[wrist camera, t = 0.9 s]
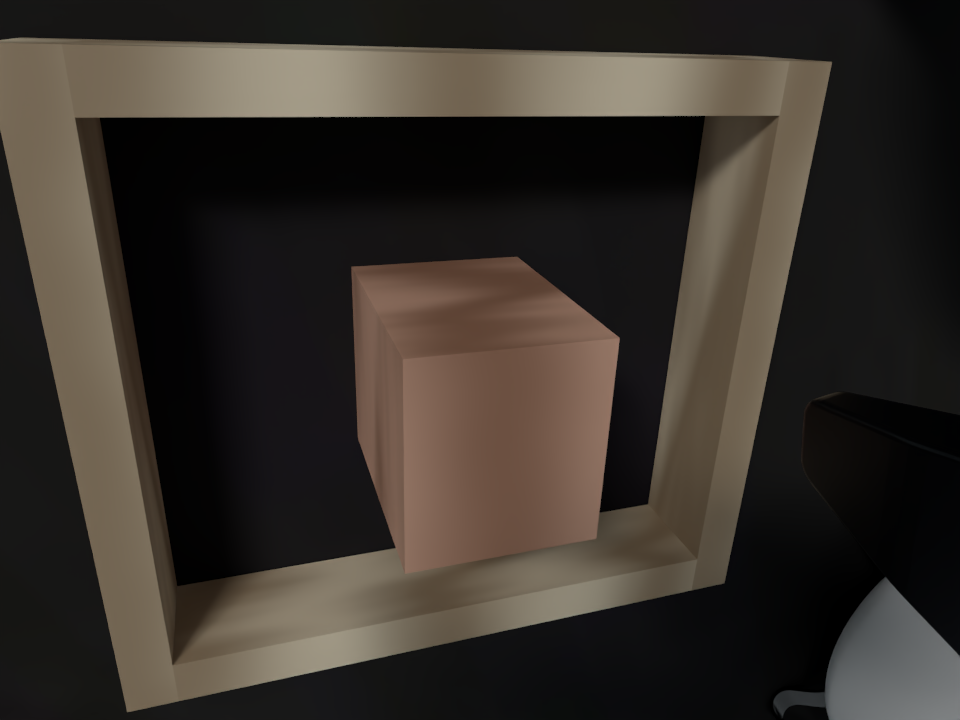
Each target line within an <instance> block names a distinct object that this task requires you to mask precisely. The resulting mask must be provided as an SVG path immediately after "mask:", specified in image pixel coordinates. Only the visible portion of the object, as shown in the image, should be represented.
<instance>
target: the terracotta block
mask: <svg viewBox="0 0 960 720" xmlns="http://www.w3.org/2000/svg"><path fill="white" fill-rule="evenodd" d="M352 293H353V319H354V345H355V371H356V398H357V424H358V439H359V442H360V445H361V448H362V451H363V454H364V457H365V460H366V463H367V465H368V468H369V471H370V474H371V477H372V480H373V483H374V486H375V489H376V492H377V494H378V497H379V500H380V503H381V506H382V509H383V512H384V515H385V518H386V521H387V523H388V526H389V529H390V532H391V535H392V538H393V541H394V544H395V547H396V549H397V552H398V555H399V558H400V561H401V564H402V567H403V570H404V573H405V574H407V573H412V572H418V571H423V570H429V569H434V568H440V567H445V566H450V565H456V564H461V563H467V562H472V561H478V560H483V559H489V558H494V557H500V556H505V555H510V554H516V553H521V552H527V551H532V550H538V549H543V548H549V547H554V546H559V545H565V544H570V543H576V542H581V541H587V540H592V539H596V537H597V529H598V520H599V511H600V503H601V494H602V486H603V477H604V468H605V460H606V451H607V443H608V434H609V425H610V417H611V408H612V400H613V391H614V382H615V374H616V365H617V357H618V348H619V339H620V338H619V337H618V336H616V335H615V334H614V333H613V332H611V331H610V330H609V329H608V328H606V327H605V326H604V325H603V324H601V323H600V322H599V321H598V320H596V319H595V318H594V317H592V316H591V315H590V314H589V313H587V312H586V311H585V310H584V309H582V308H581V307H580V306H579V305H577V304H576V303H575V302H574V301H572V300H571V299H570V298H569V297H567V296H566V295H565V294H563V293H562V292H561V291H560V290H558V289H557V288H556V287H555V286H553V285H552V284H551V283H550V282H548V281H547V280H546V279H545V278H543V277H542V276H541V275H539V274H538V273H537V272H536V271H534V270H533V269H532V268H531V267H529V266H528V265H527V264H526V263H524V262H523V261H522V260H521V259H519V258H518V257H505V258H489V259H472V260H456V261H439V262H423V263H407V264H390V265H374V266H357V267H352Z"/></svg>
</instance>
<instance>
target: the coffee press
mask: <svg viewBox="0 0 960 720" xmlns="http://www.w3.org/2000/svg"><path fill="white" fill-rule="evenodd" d="M792 705H807V706H815V707H826V709H827V714H828V718H829V720H960V656H959V655H958V654H957V653H956V652H955V651H954V650H953V649H952V648H951V647H950V646H949V645H948V643H947V642H946V641H945V640H944V639H943V638H942V637H941V636H940V635H939V634H938V633H937V632H936V631H935V630H934V629H933V628H932V627H931V626H930V625H929V624H928V622H927V621H926V620H925V619H924V618H923V617H922V616H921V615H920V614H919V613H918V612H917V611H916V610H915V609H914V608H913V607H912V606H911V605H910V604H909V603H908V602H907V600H906V599H905V598H904V597H903V596H902V595H901V594H900V593H899V592H898V591H897V590H896V588H895V587H894V586H893V585H892V584H891V583H890V582H889V581H888V579H887V578H886V577H884V578H883V579H882V580H881V581H880V582H879V583H878V584H877V585H876V586H875V587H874V588H873V590H872V591H871V592H870V593H869V594H868V595H867V596H866V598H865V599H864V600H863V601H862V602H861V604H860V605H859V606H858V608H857V609H856V610H855V612H854V613H853V615H852V616H851V618H850V619H849V621H848V622H847V624H846V626H845V627H844V629H843V631H842V633H841V635H840V637H839V639H838V641H837V643H836V645H835V648H834V650H833V653H832V656H831V659H830V662H829V666H828V670H827V675H826V683H825V689H820V690H810V689H800V688H791V687H787V688H782V689H780V690H778V691H776V692H775V693H774V695H773V696H772V698H771V701H770V709H771V712H772V714H773V716H774V717H775V718H776V720H783V714H784V712H785V710H786V709H787V708H788V707H790V706H792Z"/></svg>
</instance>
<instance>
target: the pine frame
mask: <svg viewBox="0 0 960 720" xmlns="http://www.w3.org/2000/svg"><path fill="white" fill-rule="evenodd" d="M831 65H832V62H826V61H813V60H800V59H786V58H773V57H760V56H737V55H697V54H656V53H616V52H576V51H536V50H496V49H455V48H415V47H375V46H335V45H295V44H255V43H214V42H174V41H134V40H94V39H54V38H14V39H6V40H0V130H1V135H2V139H3V144H4V149H5V153H6V158H7V162H8V167H9V171H10V176H11V181H12V185H13V190H14V194H15V199H16V204H17V208H18V213H19V217H20V222H21V227H22V231H23V236H24V240H25V245H26V249H27V254H28V259H29V263H30V268H31V272H32V277H33V282H34V286H35V291H36V295H37V300H38V304H39V309H40V314H41V318H42V323H43V327H44V332H45V337H46V341H47V346H48V350H49V355H50V359H51V364H52V369H53V373H54V378H55V382H56V387H57V392H58V396H59V401H60V405H61V410H62V415H63V419H64V424H65V428H66V433H67V437H68V442H69V447H70V451H71V456H72V460H73V465H74V470H75V474H76V479H77V483H78V488H79V492H80V497H81V502H82V506H83V511H84V515H85V520H86V525H87V529H88V534H89V538H90V543H91V548H92V552H93V557H94V561H95V566H96V570H97V575H98V580H99V584H100V589H101V593H102V598H103V603H104V607H105V612H106V616H107V621H108V625H109V630H110V635H111V639H112V644H113V648H114V653H115V658H116V662H117V667H118V671H119V676H120V680H121V685H122V690H123V694H124V699H125V703H126V708H127V712H130V711H135V710H140V709H144V708H149V707H154V706H158V705H163V704H168V703H172V702H177V701H181V700H186V699H191V698H195V697H200V696H205V695H209V694H214V693H218V692H223V691H228V690H232V689H237V688H242V687H246V686H251V685H256V684H260V683H265V682H269V681H274V680H279V679H283V678H288V677H293V676H297V675H302V674H306V673H311V672H316V671H320V670H325V669H330V668H334V667H339V666H343V665H348V664H353V663H357V662H362V661H367V660H371V659H376V658H381V657H385V656H390V655H394V654H399V653H404V652H408V651H413V650H418V649H422V648H427V647H431V646H436V645H441V644H445V643H450V642H455V641H459V640H464V639H468V638H473V637H478V636H482V635H487V634H492V633H496V632H501V631H506V630H510V629H515V628H519V627H524V626H529V625H533V624H538V623H543V622H547V621H552V620H556V619H561V618H566V617H570V616H575V615H580V614H584V613H589V612H594V611H598V610H603V609H607V608H612V607H617V606H621V605H626V604H631V603H635V602H640V601H644V600H649V599H654V598H658V597H663V596H668V595H672V594H677V593H681V592H686V591H691V590H695V589H700V588H705V587H709V586H714V585H719V584H723V583H725V578H726V573H727V568H728V563H729V558H730V554H731V549H732V544H733V539H734V534H735V529H736V525H737V520H738V515H739V510H740V505H741V500H742V496H743V491H744V486H745V481H746V476H747V471H748V467H749V462H750V457H751V452H752V447H753V442H754V438H755V433H756V428H757V423H758V418H759V413H760V408H761V404H762V399H763V394H764V389H765V384H766V379H767V375H768V370H769V365H770V360H771V355H772V350H773V346H774V341H775V336H776V331H777V326H778V321H779V317H780V312H781V307H782V302H783V297H784V292H785V288H786V283H787V278H788V273H789V268H790V263H791V259H792V254H793V249H794V244H795V239H796V234H797V230H798V225H799V220H800V215H801V210H802V205H803V200H804V196H805V191H806V186H807V181H808V176H809V171H810V167H811V162H812V157H813V152H814V147H815V142H816V138H817V133H818V128H819V123H820V118H821V113H822V109H823V104H824V99H825V94H826V89H827V84H828V80H829V75H830V70H831ZM470 116H705V121H704V128H703V135H702V141H701V148H700V155H699V162H698V169H697V175H696V182H695V189H694V196H693V203H692V209H691V216H690V223H689V230H688V237H687V243H686V250H685V257H684V264H683V271H682V277H681V284H680V291H679V298H678V305H677V311H676V318H675V325H674V332H673V339H672V345H671V352H670V359H669V366H668V373H667V379H666V386H665V393H664V400H663V407H662V413H661V420H660V427H659V434H658V441H657V447H656V454H655V461H654V468H653V475H652V481H651V488H650V495H649V502H648V504H647V505H642V506H636V507H630V508H624V509H619V510H613V511H607V512H601V513H599V520H598V529H597V537H596V539H592V540H587V541H581V542H576V543H570V544H565V545H559V546H554V547H549V548H543V549H538V550H532V551H527V552H521V553H516V554H510V555H505V556H500V557H494V558H489V559H483V560H478V561H472V562H467V563H461V564H456V565H450V566H445V567H440V568H434V569H429V570H423V571H418V572H412V573H407V574H405V573H404V570H403V567H402V564H401V561H400V558H399V555H398V552H397V549H396V548H394V549H389V550H383V551H377V552H371V553H366V554H360V555H354V556H348V557H343V558H337V559H331V560H325V561H320V562H314V563H308V564H302V565H297V566H291V567H285V568H279V569H274V570H268V571H262V572H256V573H251V574H245V575H239V576H233V577H228V578H222V579H216V580H210V581H205V582H199V583H193V584H187V585H182V586H177V582H176V576H175V570H174V564H173V558H172V552H171V546H170V540H169V534H168V528H167V522H166V516H165V510H164V504H163V498H162V492H161V486H160V480H159V474H158V467H157V461H156V455H155V449H154V443H153V437H152V431H151V425H150V419H149V413H148V407H147V401H146V395H145V389H144V383H143V377H142V371H141V365H140V359H139V353H138V347H137V341H136V335H135V328H134V322H133V316H132V310H131V304H130V298H129V292H128V286H127V280H126V274H125V268H124V262H123V256H122V250H121V244H120V238H119V232H118V226H117V220H116V214H115V208H114V202H113V196H112V189H111V183H110V177H109V171H108V165H107V159H106V153H105V147H104V141H103V135H102V129H101V123H100V118H107V117H470Z"/></svg>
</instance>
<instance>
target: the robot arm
mask: <svg viewBox="0 0 960 720" xmlns="http://www.w3.org/2000/svg"><path fill="white" fill-rule="evenodd" d="M801 461H802V466H803V469H804V472H805V474H806V476H807V478H808V479H809V481H810V482H811V484H812V485H813V486H814V487H815V489H816V490H817V491H818V493H819V494H820V495H821V496H822V498H823V499H824V500H825V501H826V503H827V504H828V505H829V507H830V508H831V509H832V510H833V512H834V513H835V514H836V515H837V517H838V518H839V519H840V521H841V522H842V523H843V524H844V526H845V527H846V528H847V529H848V531H849V532H850V533H851V535H852V536H853V537H854V538H855V540H856V541H857V542H858V543H859V545H860V546H861V547H862V549H863V550H864V551H865V552H866V554H867V555H868V556H869V557H870V559H871V560H872V561H873V563H874V564H875V565H876V566H877V567H878V569H879V570H880V571H881V572H882V573H883V575H884V576H885V577H886V578H887V579H888V581H889V582H890V583H891V584H892V585H893V586H894V587H895V588H896V590H897V591H898V592H899V593H900V594H901V595H902V596H903V597H904V598H905V599H906V600H907V602H908V603H909V604H910V605H911V606H912V607H913V608H914V609H915V610H916V611H917V612H918V613H919V614H920V615H921V616H922V617H923V618H924V619H925V620H926V621H927V622H928V624H929V625H930V626H931V627H932V628H933V629H934V630H935V631H936V632H937V633H938V634H939V635H940V636H941V637H942V638H943V639H944V640H945V641H946V642H947V643H948V645H949V646H950V647H951V648H952V649H953V650H954V651H955V652H956V653H957V654H958V655H959V656H960V415H956V414H951V413H946V412H942V411H937V410H932V409H927V408H922V407H917V406H912V405H907V404H903V403H898V402H893V401H888V400H883V399H878V398H873V397H868V396H863V395H859V394H854V393H849V392H836V393H832V394H829V395H826V396H823V397H820V398H817V399H814V400H812V401H811V402H809V403H808V405H807V406H806V408H805V412H804V423H803V438H802V454H801Z"/></svg>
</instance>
